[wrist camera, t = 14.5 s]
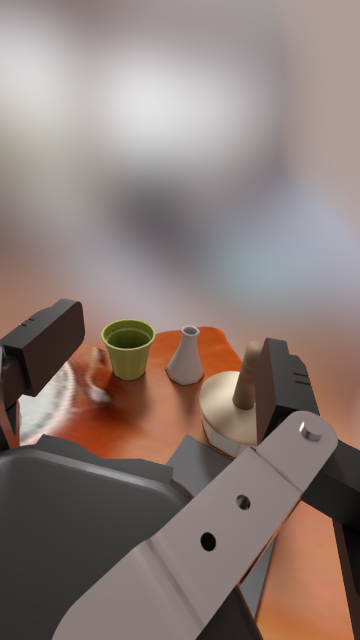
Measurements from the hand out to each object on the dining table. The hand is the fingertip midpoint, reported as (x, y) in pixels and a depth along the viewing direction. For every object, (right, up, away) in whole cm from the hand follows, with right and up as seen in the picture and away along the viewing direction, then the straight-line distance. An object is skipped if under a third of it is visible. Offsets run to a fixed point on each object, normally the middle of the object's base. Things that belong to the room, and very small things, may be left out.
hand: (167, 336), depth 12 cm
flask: (+1, -10, +42) cm, 43 cm away
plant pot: (-9, -9, +41) cm, 43 cm away
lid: (+10, -12, +29) cm, 33 cm away
